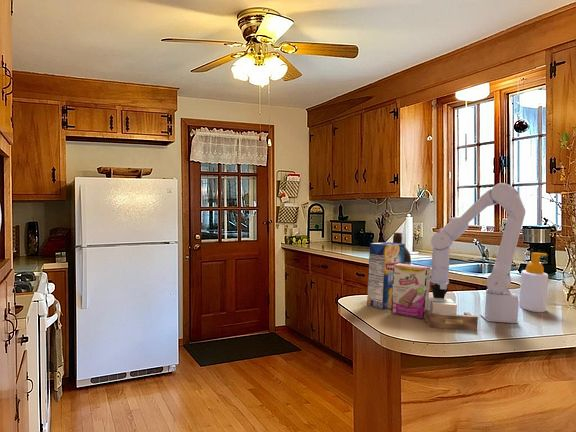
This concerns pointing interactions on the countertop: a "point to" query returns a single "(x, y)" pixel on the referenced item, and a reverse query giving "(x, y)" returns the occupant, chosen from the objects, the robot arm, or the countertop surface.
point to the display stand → (451, 321)
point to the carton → (442, 306)
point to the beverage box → (383, 272)
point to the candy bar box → (410, 290)
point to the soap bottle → (534, 285)
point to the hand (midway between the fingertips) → (438, 306)
